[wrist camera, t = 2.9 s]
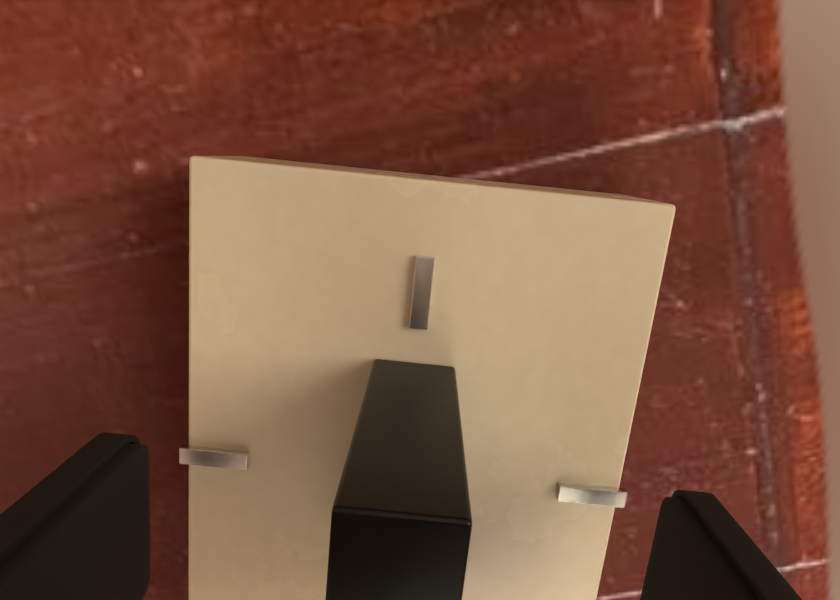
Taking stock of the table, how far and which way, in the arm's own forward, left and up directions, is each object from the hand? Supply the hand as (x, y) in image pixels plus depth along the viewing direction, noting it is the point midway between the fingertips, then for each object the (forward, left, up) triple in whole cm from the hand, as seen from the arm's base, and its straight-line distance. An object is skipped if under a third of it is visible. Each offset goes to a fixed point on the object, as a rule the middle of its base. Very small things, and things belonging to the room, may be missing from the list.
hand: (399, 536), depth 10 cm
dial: (0, 0, -2) cm, 2 cm away
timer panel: (0, 0, -5) cm, 5 cm away
